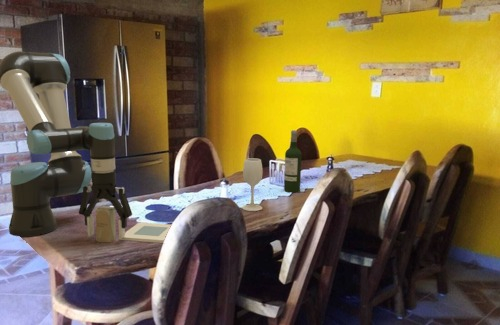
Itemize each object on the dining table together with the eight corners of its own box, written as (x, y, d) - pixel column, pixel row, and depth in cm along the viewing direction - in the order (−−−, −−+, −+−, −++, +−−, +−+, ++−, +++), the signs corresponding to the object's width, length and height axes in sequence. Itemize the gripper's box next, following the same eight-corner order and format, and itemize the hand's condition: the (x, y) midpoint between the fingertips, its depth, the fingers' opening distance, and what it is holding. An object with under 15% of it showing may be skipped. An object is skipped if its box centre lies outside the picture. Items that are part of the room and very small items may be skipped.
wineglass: (257, 204, 191) (258, 157, 188) (265, 210, 183) (266, 160, 180) (239, 206, 188) (239, 158, 184) (246, 212, 180) (247, 161, 176)
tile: (119, 239, 146) (119, 236, 146) (139, 224, 162) (139, 222, 162) (164, 243, 144) (164, 240, 143) (180, 227, 159) (180, 225, 159)
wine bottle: (282, 191, 215) (284, 130, 209) (286, 188, 222) (287, 129, 217) (298, 193, 212) (300, 131, 207) (301, 189, 220) (303, 130, 214)
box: (96, 241, 144) (94, 209, 143) (102, 237, 149) (101, 205, 147) (110, 242, 144) (109, 210, 142) (117, 238, 148) (115, 206, 146)
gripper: (64, 171, 140) (68, 237, 144) (131, 174, 136) (133, 242, 140) (77, 167, 148) (81, 229, 151) (141, 170, 144) (143, 234, 148)
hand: (106, 236), depth 146 cm, fingers open, 10 cm apart
